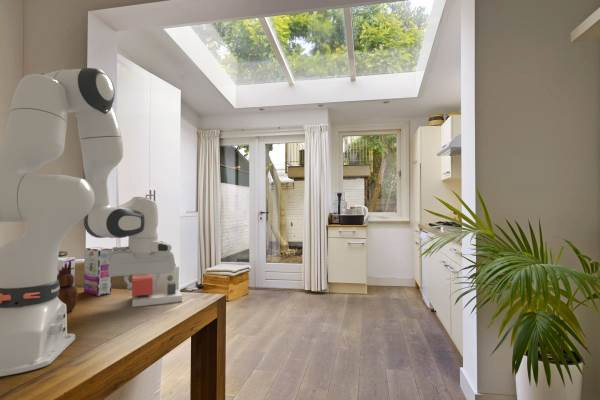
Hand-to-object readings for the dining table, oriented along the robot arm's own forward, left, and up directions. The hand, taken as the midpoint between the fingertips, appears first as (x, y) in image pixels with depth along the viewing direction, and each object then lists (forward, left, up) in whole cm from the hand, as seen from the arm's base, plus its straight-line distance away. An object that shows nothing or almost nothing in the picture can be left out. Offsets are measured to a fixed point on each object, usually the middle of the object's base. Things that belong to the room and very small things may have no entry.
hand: (142, 287), depth 113 cm
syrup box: (+12, +24, -5) cm, 28 cm away
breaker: (0, 0, -4) cm, 5 cm away
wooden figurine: (-2, +21, -5) cm, 22 cm away
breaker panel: (+1, -5, -5) cm, 7 cm away
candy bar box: (+20, +14, -5) cm, 26 cm away
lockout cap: (0, 0, -2) cm, 2 cm away
